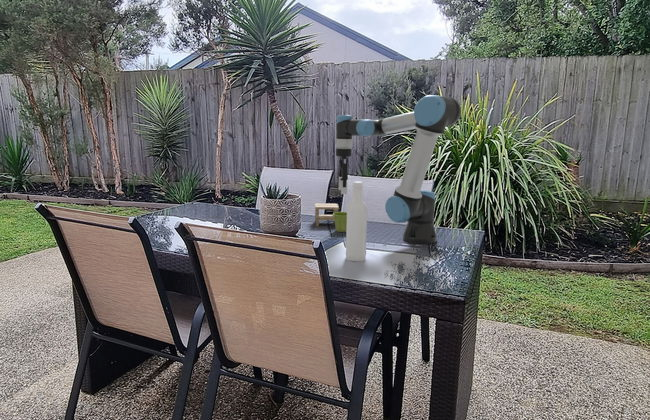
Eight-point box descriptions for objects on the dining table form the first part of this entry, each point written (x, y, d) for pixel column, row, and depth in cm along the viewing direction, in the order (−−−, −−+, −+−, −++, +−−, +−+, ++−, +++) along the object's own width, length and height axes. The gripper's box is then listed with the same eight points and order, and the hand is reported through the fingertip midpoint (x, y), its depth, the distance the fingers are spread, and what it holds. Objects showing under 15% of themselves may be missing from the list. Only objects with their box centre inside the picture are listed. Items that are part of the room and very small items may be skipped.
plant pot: (354, 230, 216) (355, 213, 214) (346, 234, 208) (346, 216, 206) (338, 227, 221) (338, 211, 219) (329, 231, 213) (329, 214, 211)
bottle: (346, 255, 172) (348, 180, 167) (366, 256, 172) (368, 181, 166) (344, 261, 165) (346, 183, 159) (365, 262, 164) (368, 183, 158)
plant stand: (338, 226, 224) (338, 207, 222) (315, 226, 223) (315, 207, 222) (336, 221, 236) (336, 203, 234) (314, 221, 235) (314, 203, 233)
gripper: (334, 146, 219) (333, 188, 223) (338, 149, 194) (337, 195, 198) (348, 147, 219) (347, 188, 223) (354, 149, 195) (353, 196, 199)
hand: (342, 192), depth 211 cm, fingers open, 13 cm apart
